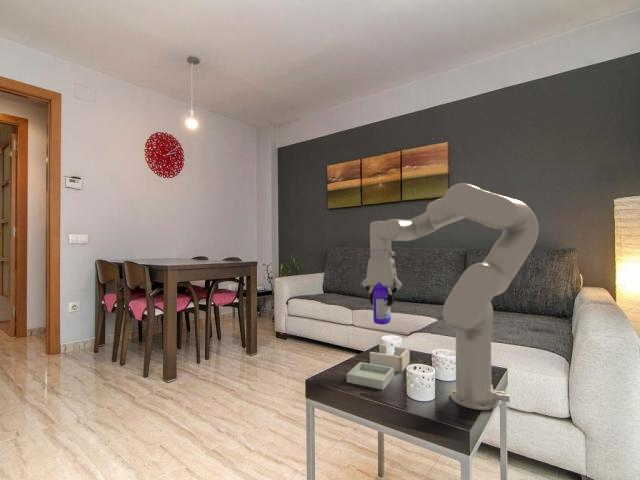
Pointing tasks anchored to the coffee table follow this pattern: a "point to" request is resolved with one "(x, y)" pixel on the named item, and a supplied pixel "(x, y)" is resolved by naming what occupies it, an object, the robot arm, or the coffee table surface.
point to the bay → (391, 358)
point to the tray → (370, 375)
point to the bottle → (381, 305)
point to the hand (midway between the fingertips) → (381, 304)
